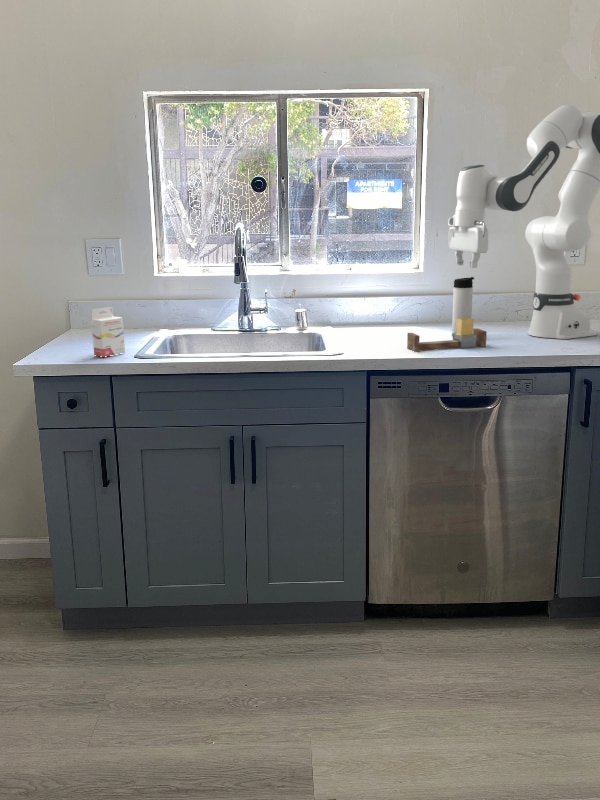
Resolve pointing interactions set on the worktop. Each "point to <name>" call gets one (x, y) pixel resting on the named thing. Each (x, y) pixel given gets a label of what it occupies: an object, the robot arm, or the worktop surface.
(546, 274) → the robot arm
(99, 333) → the ink cartridge box
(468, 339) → the slider
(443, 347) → the rail
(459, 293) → the travel mug
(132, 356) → the worktop surface
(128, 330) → the worktop surface
